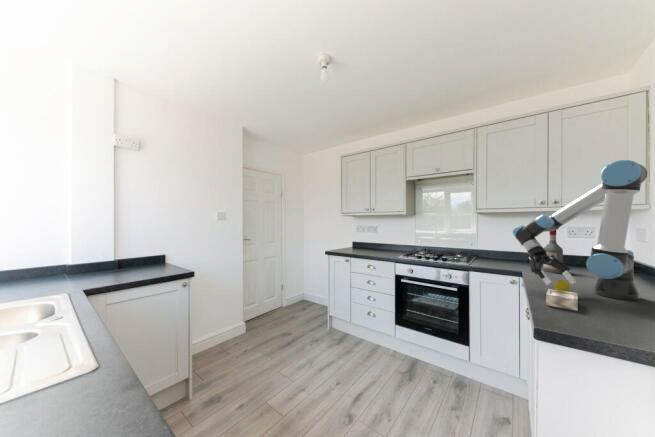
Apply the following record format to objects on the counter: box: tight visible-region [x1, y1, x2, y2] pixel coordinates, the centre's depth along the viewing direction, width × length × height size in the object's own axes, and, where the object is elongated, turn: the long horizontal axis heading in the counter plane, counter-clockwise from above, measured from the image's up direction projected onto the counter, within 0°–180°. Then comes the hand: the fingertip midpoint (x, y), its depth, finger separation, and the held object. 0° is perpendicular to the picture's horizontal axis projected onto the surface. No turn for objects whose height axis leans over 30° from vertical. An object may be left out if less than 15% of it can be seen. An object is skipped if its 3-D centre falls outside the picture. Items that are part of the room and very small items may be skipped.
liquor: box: [542, 230, 564, 274], centre depth 182 cm, size 9×9×30 cm
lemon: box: [554, 279, 571, 292], centre depth 127 cm, size 6×6×8 cm
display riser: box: [545, 288, 579, 312], centre depth 114 cm, size 10×12×5 cm
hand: (561, 283), depth 127 cm, fingers open, 13 cm apart
